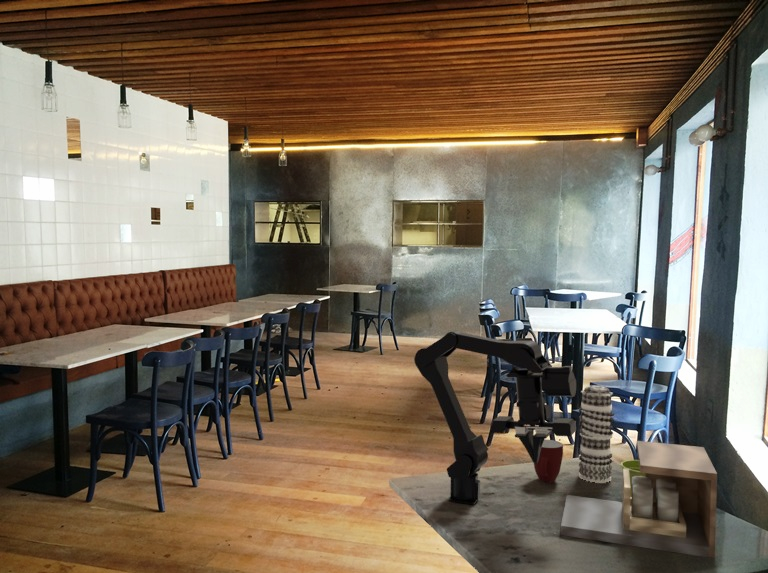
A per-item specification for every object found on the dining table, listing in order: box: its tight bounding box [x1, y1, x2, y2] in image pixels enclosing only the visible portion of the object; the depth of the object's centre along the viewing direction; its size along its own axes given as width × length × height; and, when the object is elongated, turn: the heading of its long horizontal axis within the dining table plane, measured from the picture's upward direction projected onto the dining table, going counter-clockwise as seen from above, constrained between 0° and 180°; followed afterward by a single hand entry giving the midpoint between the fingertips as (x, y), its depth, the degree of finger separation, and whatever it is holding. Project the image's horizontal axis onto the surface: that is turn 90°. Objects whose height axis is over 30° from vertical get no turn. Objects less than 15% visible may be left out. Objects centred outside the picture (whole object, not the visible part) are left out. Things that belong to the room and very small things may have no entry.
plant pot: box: [620, 459, 645, 497], centre depth 153 cm, size 9×9×9 cm
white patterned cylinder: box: [578, 384, 615, 484], centre depth 169 cm, size 9×9×25 cm
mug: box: [533, 439, 564, 484], centre depth 165 cm, size 10×8×10 cm
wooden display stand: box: [560, 440, 718, 559], centre depth 137 cm, size 30×19×17 cm, turn 70°
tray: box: [621, 468, 686, 538], centre depth 135 cm, size 12×13×9 cm
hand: (535, 462), depth 144 cm, fingers closed
